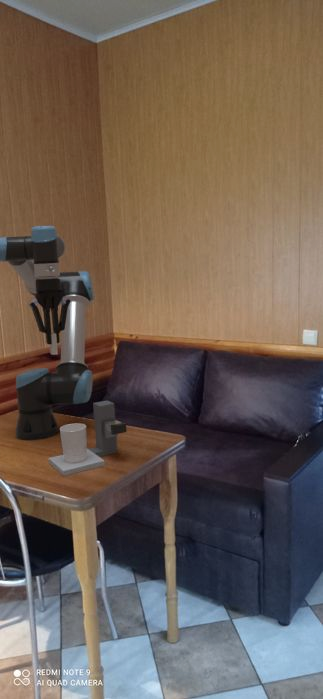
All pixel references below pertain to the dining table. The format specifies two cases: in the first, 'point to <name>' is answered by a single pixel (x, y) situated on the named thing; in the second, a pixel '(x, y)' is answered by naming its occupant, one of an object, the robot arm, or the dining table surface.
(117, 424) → the handle
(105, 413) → the frame
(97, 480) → the dining table surface
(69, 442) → the white cup
